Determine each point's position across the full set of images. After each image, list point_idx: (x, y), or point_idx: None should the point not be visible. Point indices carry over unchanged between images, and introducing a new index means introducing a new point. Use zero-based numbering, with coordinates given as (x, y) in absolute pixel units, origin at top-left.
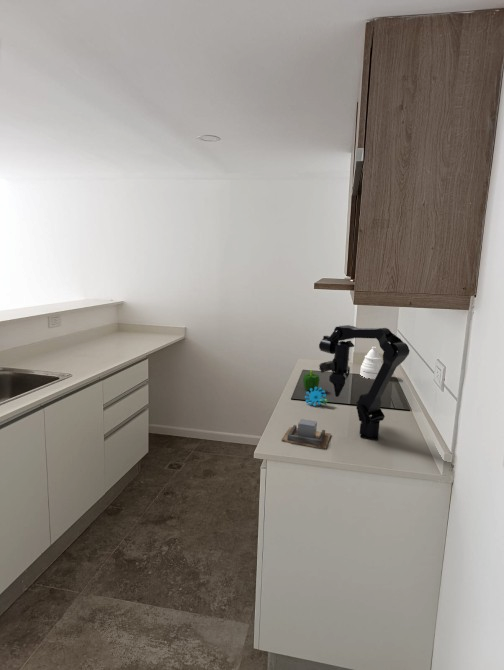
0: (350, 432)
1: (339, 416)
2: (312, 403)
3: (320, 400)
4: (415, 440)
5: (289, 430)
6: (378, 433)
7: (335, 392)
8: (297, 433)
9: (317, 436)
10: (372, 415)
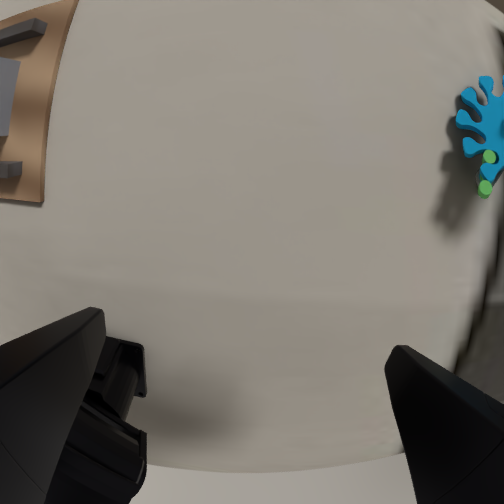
0: (110, 295)
1: (336, 251)
2: (474, 109)
3: (485, 154)
4: (154, 457)
5: (37, 14)
6: (138, 396)
7: (47, 332)
8: (13, 55)
9: (1, 145)
10: (135, 435)
